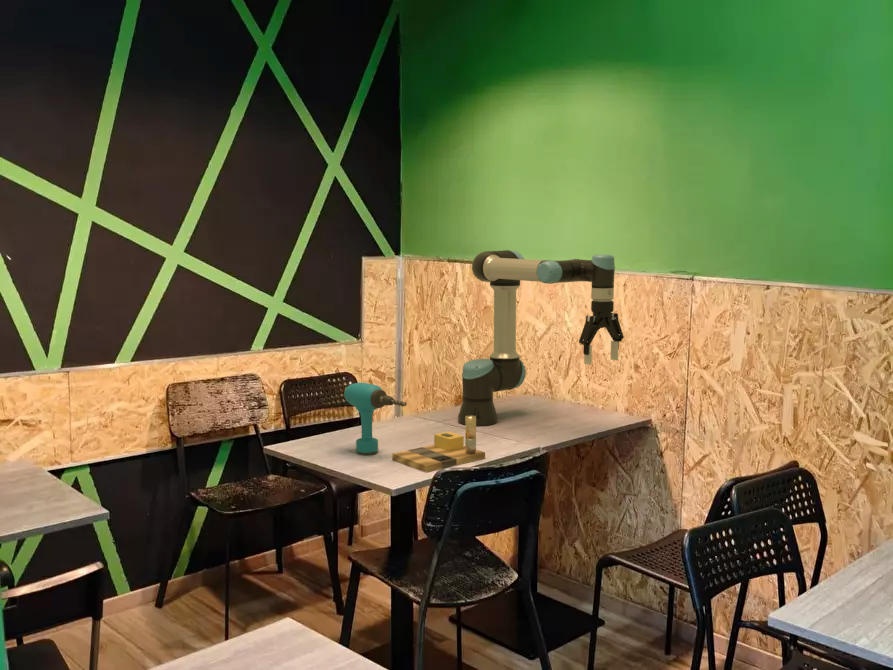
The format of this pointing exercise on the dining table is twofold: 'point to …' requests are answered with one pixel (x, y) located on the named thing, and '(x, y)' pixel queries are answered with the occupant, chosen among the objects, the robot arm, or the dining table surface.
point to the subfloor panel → (435, 458)
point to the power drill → (368, 411)
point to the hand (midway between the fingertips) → (601, 362)
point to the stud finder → (448, 441)
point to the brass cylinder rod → (470, 434)
